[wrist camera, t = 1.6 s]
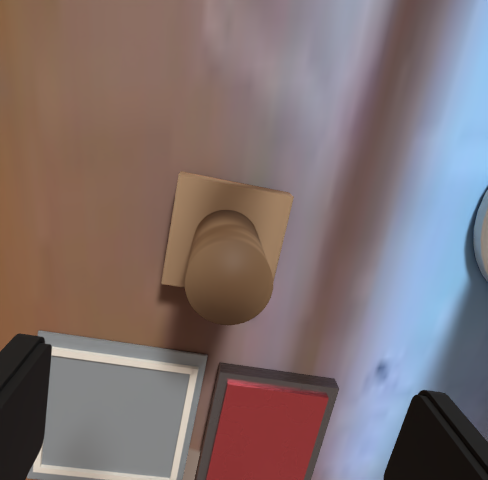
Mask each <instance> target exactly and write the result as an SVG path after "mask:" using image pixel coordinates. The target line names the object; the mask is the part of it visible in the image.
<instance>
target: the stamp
mask: <svg viewBox="0 0 488 480" xmlns="http://www.w3.org/2000/svg"><path fill="white" fill-rule="evenodd" d="M293 198H294V197H293V196H292V195H291V194H290V193H288V192H283V191H278V190H273V189H268V188H263V187H258V186H253V185H248V184H243V183H237V182H232V181H227V180H222V179H217V178H212V177H207V176H202V175H197V174H192V173H187V172H182V171H181V172H180V174H179V176H178V182H177V189H176V195H175V201H174V207H173V214H172V220H171V226H170V232H169V239H168V245H167V251H166V257H165V263H164V270H163V276H162V282H161V284H166V285H172V286H178V287H184V288H185V292H186V296H187V299H188V301H189V303H190V305H191V306H192V308H193V309H194V310H195V311H196V312H197V313H198V314H199V315H200V316H201V317H203V318H204V319H206V320H208V321H210V322H213V323H216V324H221V325H235V324H240V323H244V322H246V321H249V320H250V319H252V318H254V317H255V316H257V315H258V314H259V313H260V312H261V311H262V310H263V309H264V308H265V307H266V305H267V304H268V302H269V300H270V298H271V294H272V290H273V281H274V277H275V273H276V268H277V264H278V260H279V256H280V252H281V248H282V243H283V239H284V235H285V231H286V227H287V223H288V219H289V214H290V210H291V206H292V202H293Z"/></svg>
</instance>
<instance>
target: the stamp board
mask: <svg viewBox="0 0 488 480" xmlns="http://www.w3.org/2000/svg"><path fill="white" fill-rule="evenodd" d="M38 336H40V337H44V339H45V344H51V346H52V355H51V366H50V378H49V389H48V400H47V412H46V423H45V435H44V440H43V444H42V447H41V450H40V452H39V454H38V456H37V458H36V460H35V462H34V464H33V466H32V467H31V469H30V471H29V473H28V475H27V478H30V479H40V480H182V479H183V474H184V469H185V464H186V459H187V455H188V450H189V445H190V440H191V435H192V430H193V425H194V420H195V415H196V411H197V406H198V401H199V396H200V391H201V386H202V381H203V376H204V372H205V367H206V362H207V357H208V355H206V354H199V353H192V352H185V351H178V350H171V349H164V348H157V347H150V346H143V345H136V344H130V343H123V342H116V341H109V340H102V339H95V338H88V337H81V336H74V335H67V334H60V333H53V332H46V331H38Z"/></svg>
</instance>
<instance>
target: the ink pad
mask: <svg viewBox="0 0 488 480" xmlns="http://www.w3.org/2000/svg"><path fill="white" fill-rule="evenodd" d="M338 391H339V387H338V385H337V383H336V381H335V379H332V378H325V377H318V376H311V375H304V374H297V373H290V372H283V371H276V370H269V369H262V368H255V367H248V366H241V365H234V364H227V363H220V364H219V368H218V373H217V378H216V382H215V387H214V392H213V396H212V401H211V406H210V410H209V415H208V419H207V424H206V429H205V433H204V438H203V443H202V447H201V452H200V457H199V461H198V466H197V471H196V475H195V480H311V477H312V474H313V471H314V468H315V464H316V461H317V458H318V455H319V452H320V448H321V445H322V442H323V439H324V436H325V432H326V429H327V426H328V423H329V420H330V416H331V413H332V410H333V407H334V404H335V400H336V397H337V394H338Z"/></svg>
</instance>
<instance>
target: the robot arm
mask: <svg viewBox="0 0 488 480" xmlns="http://www.w3.org/2000/svg"><path fill="white" fill-rule="evenodd" d="M473 245H474V251H475V257H476V261H477V264H478V266H479V269H480V271H481V273H482V275H483V276H484V278H485V279H486V280H487V282H488V190H487V192H486V193H485V195H484V198H483V200H482V202H481V205H480V207H479V210H478V213H477V217H476V221H475V226H474V241H473ZM51 355H52V346H51V344H45V339H44V337H40V336H33V335H26V334H17V335H16V336H15V337H14V338H13V339H12V340H11V341H10V342H9V343H8V344H7V345H6V346H5V347H4V348H3V349H2V350H1V352H0V480H25V479H26V477H27V475H28V473H29V471H30V469H31V467H32V466H33V464H34V462H35V460H36V458H37V456H38V454H39V452H40V450H41V447H42V444H43V440H44V435H45V423H46V412H47V400H48V389H49V378H50V366H51ZM384 480H488V442H487V441H486V440H485V439H484V437H483V436H482V435H481V434H480V433H479V432H478V430H477V429H476V428H475V427H474V426H473V425H472V423H471V422H470V421H469V420H468V419H467V418H466V416H465V415H464V414H463V413H462V412H461V410H460V409H459V408H458V407H457V406H456V405H455V403H454V402H453V401H452V400H451V399H450V398H449V396H448V395H446V394H445V393H441V392H434V391H427V390H423V391H420V392H419V394H418V395H415V396H414V397H413V398H412V400H411V403H410V406H409V408H408V411H407V414H406V416H405V419H404V422H403V424H402V427H401V430H400V433H399V435H398V438H397V441H396V443H395V446H394V449H393V451H392V454H391V457H390V459H389V462H388V465H387V468H386V470H385V473H384Z"/></svg>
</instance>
